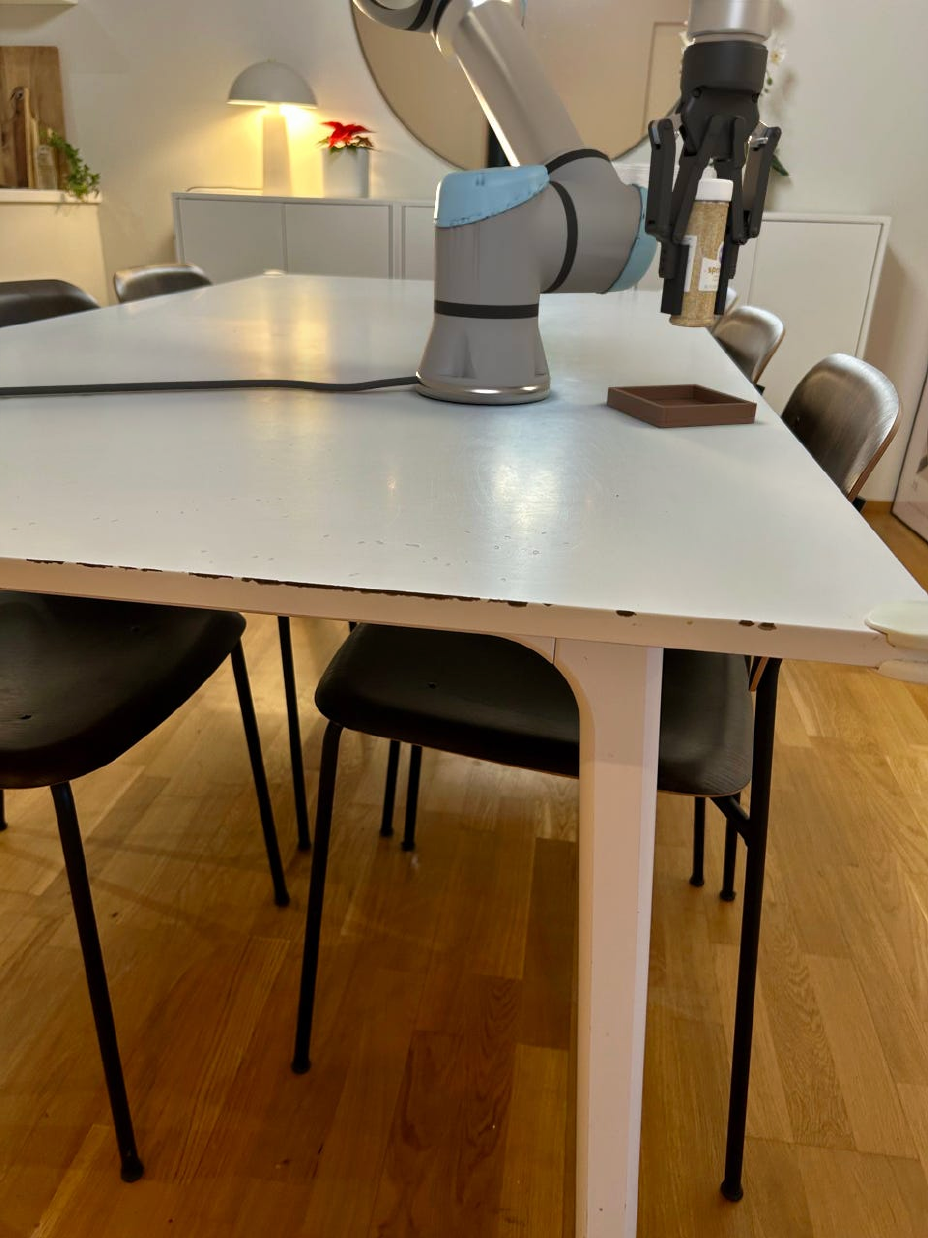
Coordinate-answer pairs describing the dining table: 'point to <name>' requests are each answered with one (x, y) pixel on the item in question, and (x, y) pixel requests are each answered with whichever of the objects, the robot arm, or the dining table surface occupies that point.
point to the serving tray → (681, 405)
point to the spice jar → (704, 252)
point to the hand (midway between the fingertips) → (691, 313)
